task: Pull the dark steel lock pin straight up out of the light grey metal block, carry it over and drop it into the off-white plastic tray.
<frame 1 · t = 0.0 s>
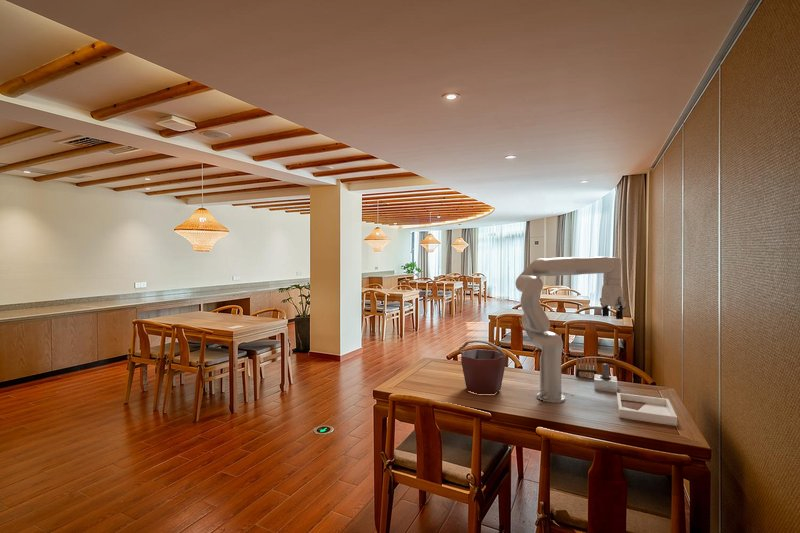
hand: (612, 317, 191), 37 cm above the table, tool pointing down, fingers open, 9 cm apart
lock pin: (605, 388, 197), point 1 cm above the table, touching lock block
bucket: (483, 390, 201), on the table
tray: (644, 412, 169), on the table
ammunition clip: (586, 379, 216), on the table
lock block: (605, 390, 197), on the table
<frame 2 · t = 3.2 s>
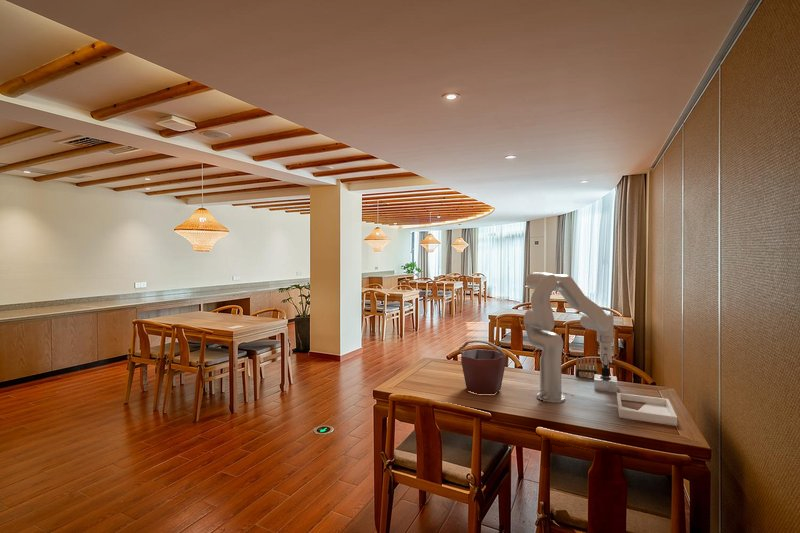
hand: (605, 374, 197), 8 cm above the table, tool pointing down, fingers closed on lock pin, 3 cm apart
lock pin: (605, 388, 197), point 1 cm above the table, touching gripper, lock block
everything else where it was.
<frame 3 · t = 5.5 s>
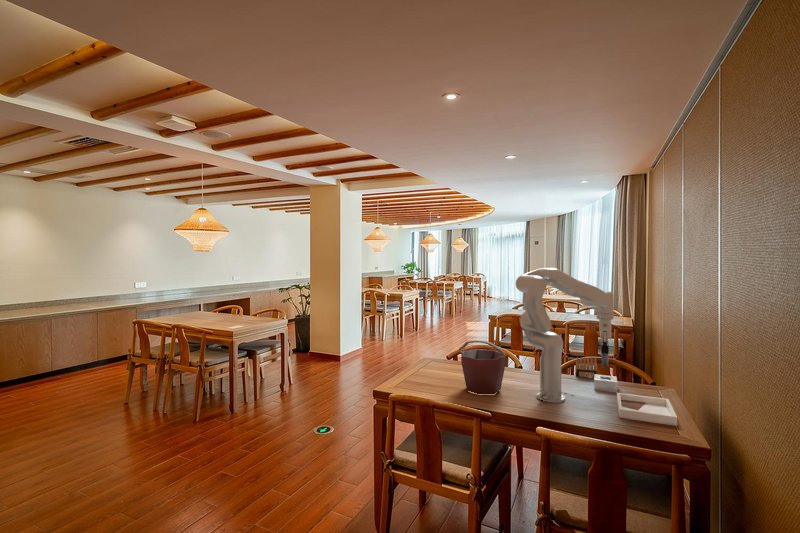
hand: (604, 352, 197), 19 cm above the table, tool pointing down, fingers closed on lock pin, 3 cm apart
lock pin: (604, 365, 197), point 12 cm above the table, touching gripper
everything else where it was.
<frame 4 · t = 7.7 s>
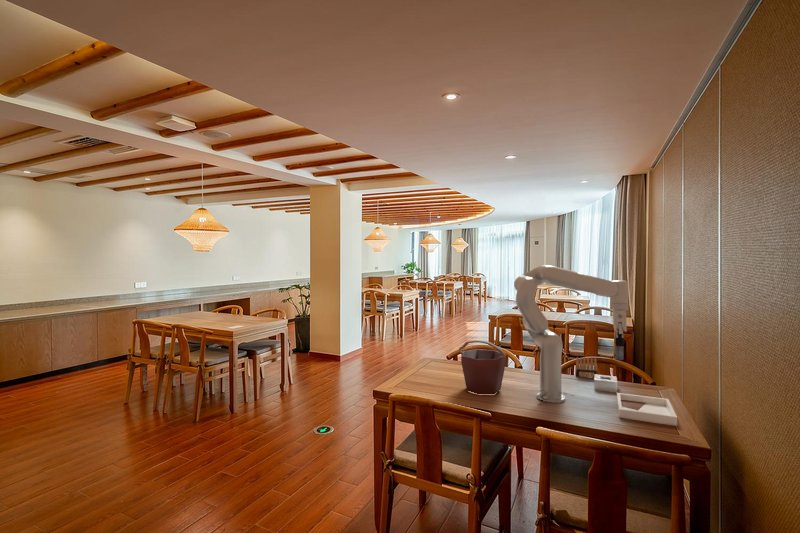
hand: (619, 344, 186), 25 cm above the table, tool pointing down, fingers closed on lock pin, 3 cm apart
lock pin: (619, 359, 186), point 18 cm above the table, touching gripper
everything else where it was.
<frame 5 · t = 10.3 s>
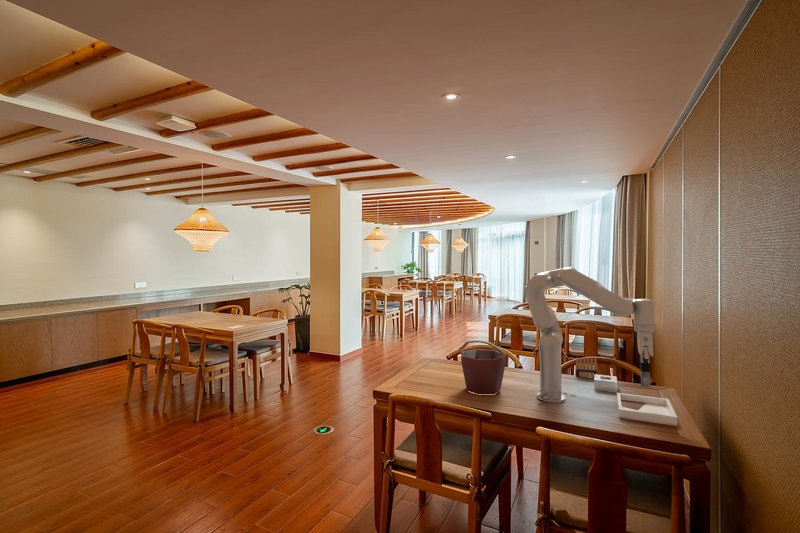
hand: (644, 370, 169), 18 cm above the table, tool pointing down, fingers closed on lock pin, 3 cm apart
lock pin: (645, 385, 169), point 11 cm above the table, touching gripper
everything else where it was.
when the fingers open (8 cm above the table, at t = 12.7 s): lock pin stays where it is, resting on tray.
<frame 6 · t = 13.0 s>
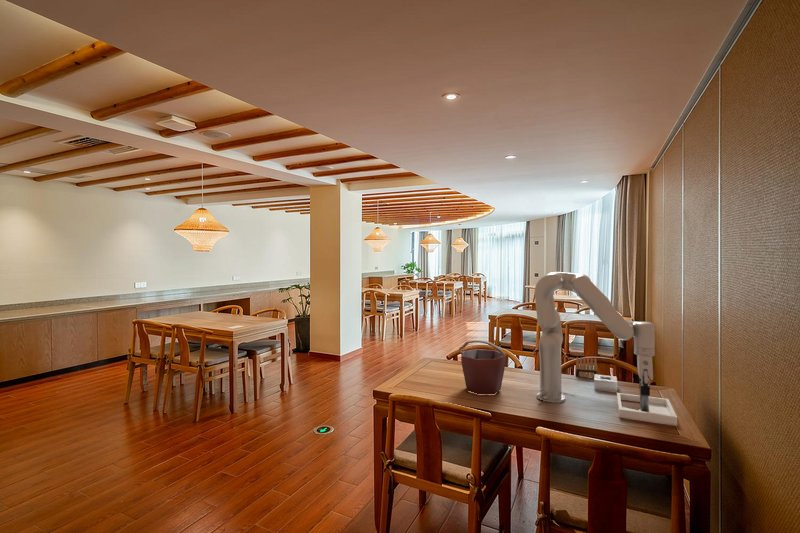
hand: (644, 392, 169), 9 cm above the table, tool pointing down, fingers open, 6 cm apart
lock pin: (644, 410, 169), point 1 cm above the table, touching tray
everything else where it was.
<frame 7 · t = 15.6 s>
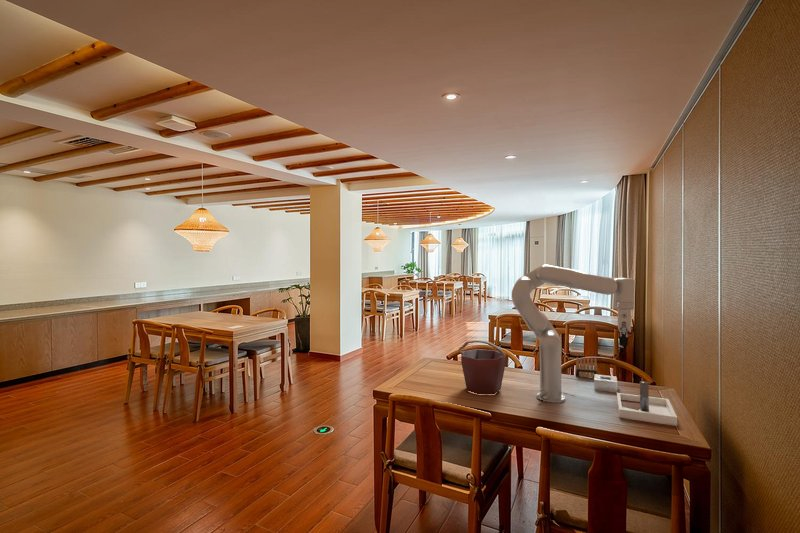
hand: (623, 343, 177), 28 cm above the table, tool pointing down, fingers open, 9 cm apart
nothing on the table moved.
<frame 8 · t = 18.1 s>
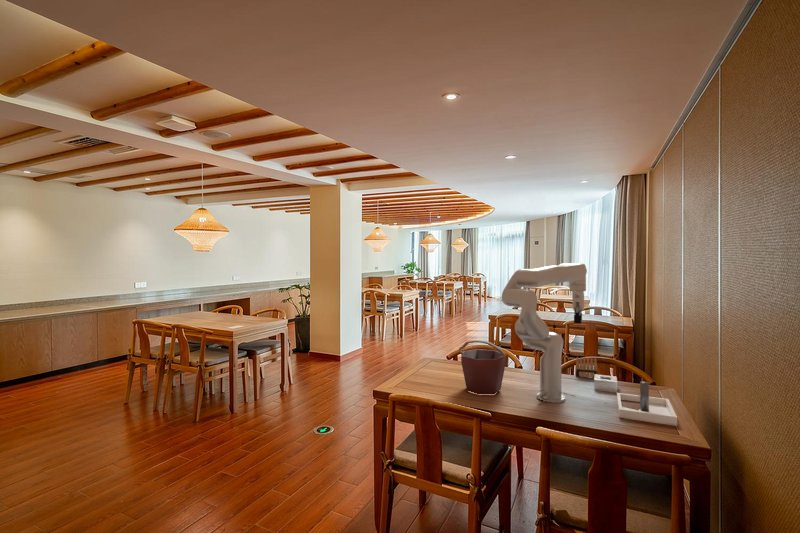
hand: (578, 321, 199), 34 cm above the table, tool pointing down, fingers open, 9 cm apart
nothing on the table moved.
at the end: lock pin inside the target area on the tray (0.0 cm from its centre), point 0.8 cm above the tray's base; the gripper is holding nothing; lock pin touching tray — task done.
